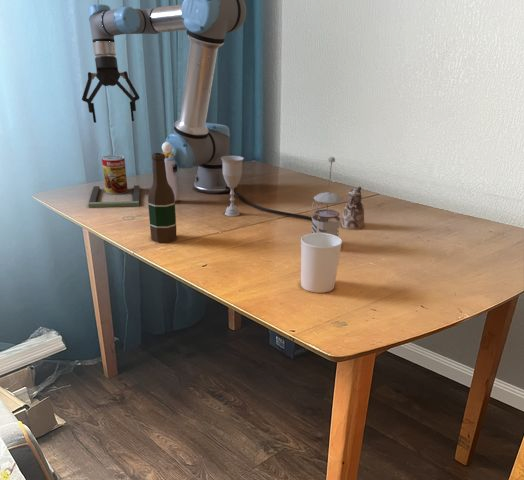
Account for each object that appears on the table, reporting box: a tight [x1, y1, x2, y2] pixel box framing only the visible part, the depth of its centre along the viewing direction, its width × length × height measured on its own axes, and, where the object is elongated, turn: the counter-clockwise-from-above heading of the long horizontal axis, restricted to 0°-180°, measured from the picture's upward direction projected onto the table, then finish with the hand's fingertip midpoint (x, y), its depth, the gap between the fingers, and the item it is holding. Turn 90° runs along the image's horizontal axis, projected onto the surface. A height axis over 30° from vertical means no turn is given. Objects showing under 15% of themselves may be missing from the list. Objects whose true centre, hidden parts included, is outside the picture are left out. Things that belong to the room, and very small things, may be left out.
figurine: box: [340, 186, 365, 230], centre depth 173 cm, size 7×7×12 cm
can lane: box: [88, 184, 141, 208], centre depth 194 cm, size 22×16×1 cm
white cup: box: [300, 232, 343, 294], centre depth 133 cm, size 10×10×12 cm
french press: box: [310, 156, 343, 237], centre depth 154 cm, size 10×12×25 cm
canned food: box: [101, 154, 129, 195], centre depth 198 cm, size 8×8×12 cm
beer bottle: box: [147, 152, 177, 244], centre depth 155 cm, size 8×8×24 cm
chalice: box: [221, 155, 244, 217], centre depth 178 cm, size 7×7×18 cm
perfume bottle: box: [161, 141, 178, 202], centre depth 187 cm, size 6×6×20 cm
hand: (114, 121), depth 201 cm, fingers open, 13 cm apart
